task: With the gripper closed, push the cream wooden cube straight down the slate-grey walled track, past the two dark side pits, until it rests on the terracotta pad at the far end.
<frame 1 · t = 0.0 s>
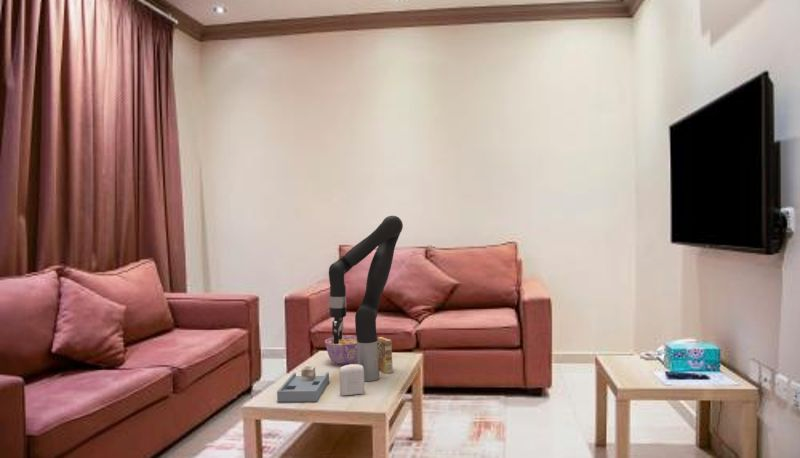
hand: (337, 341, 265), 17 cm above the table, tool pointing down, fingers open, 8 cm apart
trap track: (304, 391, 249), on the table
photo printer: (352, 394, 244), on the table
candy box: (384, 371, 276), on the table
cream cube: (308, 379, 256), point 3 cm above the table, touching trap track
bowl of food: (345, 363, 293), on the table
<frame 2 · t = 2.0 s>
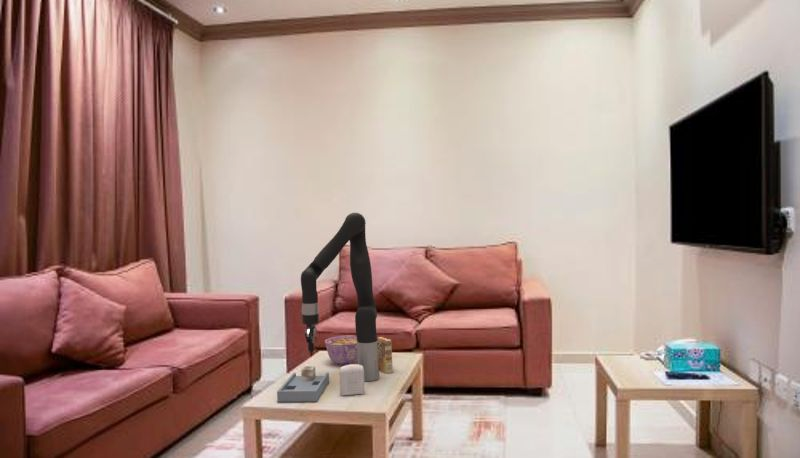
hand: (311, 350, 264), 14 cm above the table, tool pointing down, fingers closed
nothing on the table moved.
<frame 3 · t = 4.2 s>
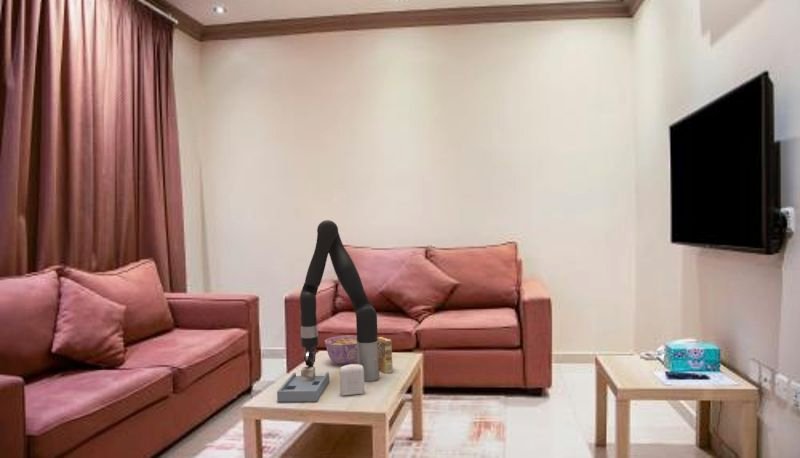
hand: (311, 373, 261), 4 cm above the table, tool pointing down, fingers closed
cream cube: (308, 379, 256), point 3 cm above the table, touching gripper
everything else where it was.
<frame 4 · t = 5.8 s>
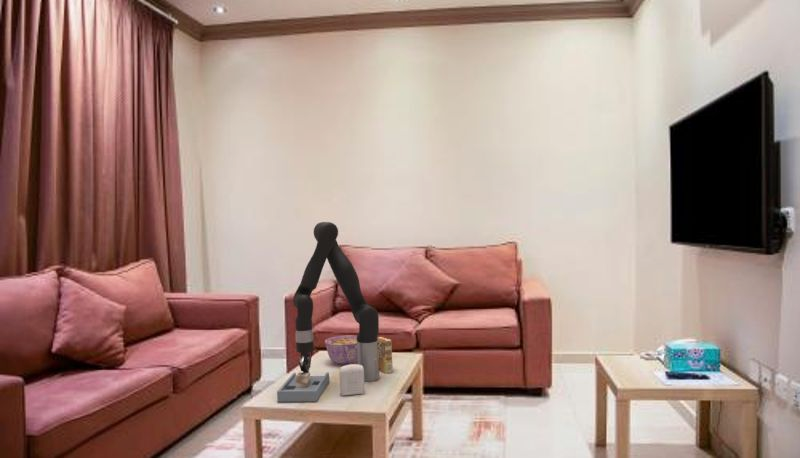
hand: (306, 379, 252), 4 cm above the table, tool pointing down, fingers closed
cream cube: (303, 385, 247), point 3 cm above the table, touching gripper
everything else where it was.
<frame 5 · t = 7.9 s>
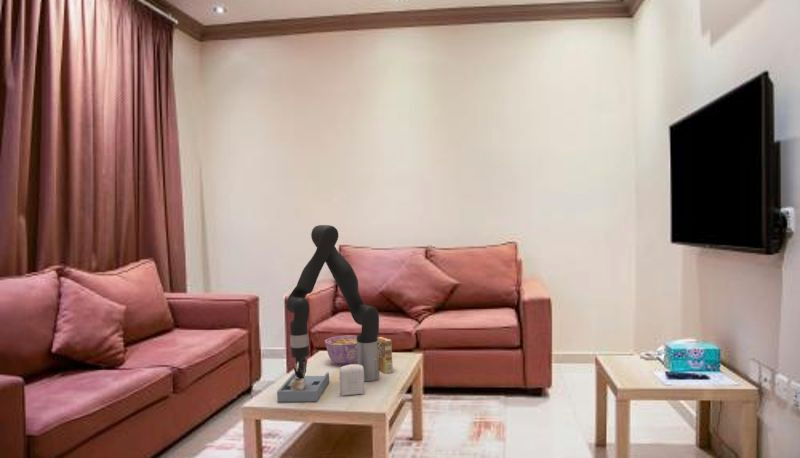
hand: (301, 385, 244), 4 cm above the table, tool pointing down, fingers closed
cream cube: (298, 392, 239), point 3 cm above the table, touching gripper, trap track
everything else where it was.
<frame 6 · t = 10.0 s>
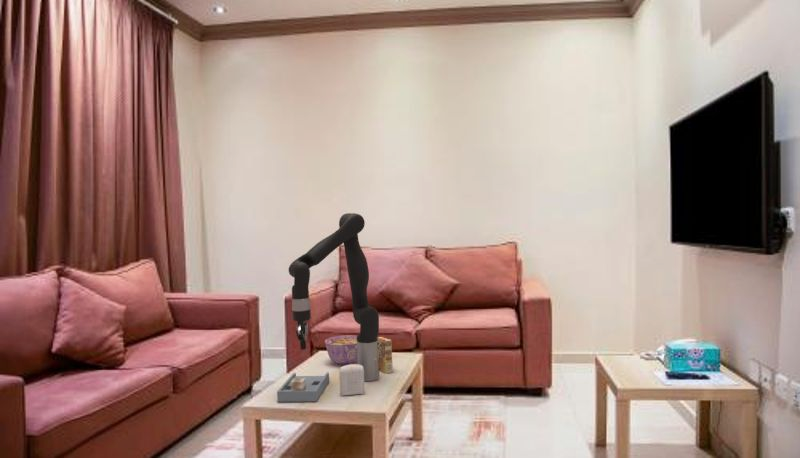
hand: (303, 349, 248), 18 cm above the table, tool pointing down, fingers closed
cream cube: (298, 392, 239), point 3 cm above the table, touching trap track
everything else where it was.
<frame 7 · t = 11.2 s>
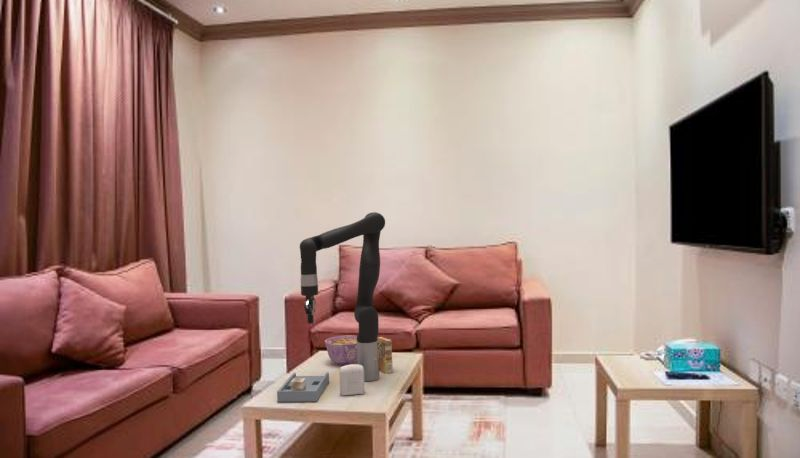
hand: (310, 323, 259), 27 cm above the table, tool pointing down, fingers closed
nothing on the table moved.
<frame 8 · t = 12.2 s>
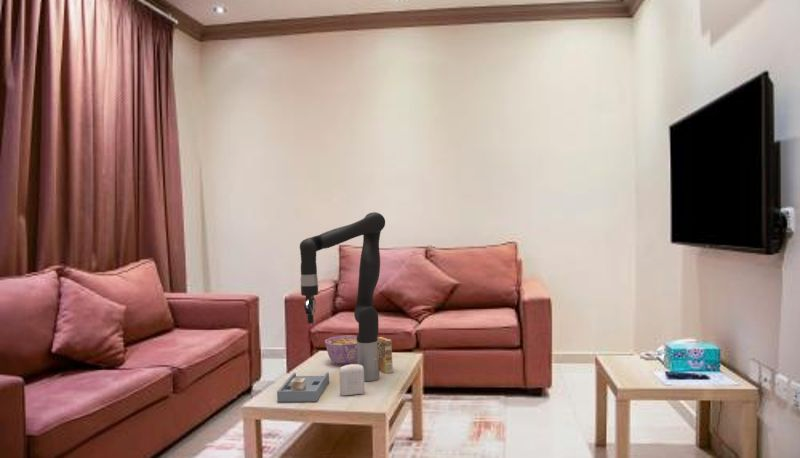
hand: (310, 323, 259), 27 cm above the table, tool pointing down, fingers closed
nothing on the table moved.
at the end: cream cube 0.1 cm from the target spot on the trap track, point 3.0 cm above the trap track's base; cream cube tilted 0° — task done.
